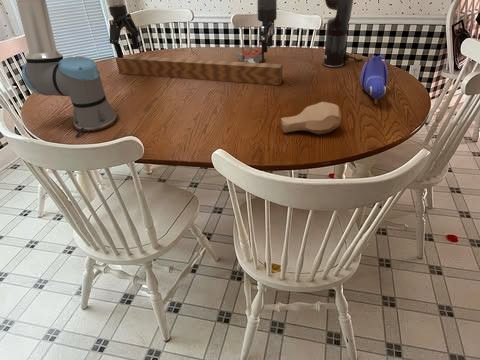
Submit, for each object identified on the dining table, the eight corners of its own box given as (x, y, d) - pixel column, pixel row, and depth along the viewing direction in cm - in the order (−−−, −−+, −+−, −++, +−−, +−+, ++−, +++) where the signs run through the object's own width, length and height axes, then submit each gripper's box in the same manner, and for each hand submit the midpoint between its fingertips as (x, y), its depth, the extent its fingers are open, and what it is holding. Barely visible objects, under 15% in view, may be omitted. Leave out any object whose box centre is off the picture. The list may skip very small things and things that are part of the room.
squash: (345, 135, 116) (346, 113, 109) (284, 145, 118) (282, 124, 111) (337, 115, 123) (337, 93, 117) (280, 125, 125) (277, 104, 119)
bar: (119, 73, 177) (115, 58, 173) (124, 70, 181) (120, 55, 176) (279, 85, 154) (280, 67, 149) (282, 81, 157) (282, 64, 153)
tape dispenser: (256, 76, 167) (275, 61, 180) (255, 65, 164) (276, 50, 176) (225, 69, 175) (246, 55, 187) (224, 59, 171) (245, 45, 184)
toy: (357, 95, 150) (363, 108, 128) (360, 53, 144) (367, 59, 122) (382, 94, 148) (392, 108, 126) (386, 52, 142) (398, 58, 119)
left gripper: (107, 11, 149) (120, 62, 161) (138, -1, 167) (148, 45, 180) (92, 11, 151) (106, 61, 164) (125, -1, 169) (135, 45, 182)
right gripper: (271, 10, 133) (271, 54, 142) (280, 3, 143) (280, 44, 153) (252, 10, 135) (253, 54, 144) (262, 3, 146) (263, 44, 155)
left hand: (128, 53), depth 172 cm, fingers open, 13 cm apart
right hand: (267, 49), depth 149 cm, fingers open, 8 cm apart
